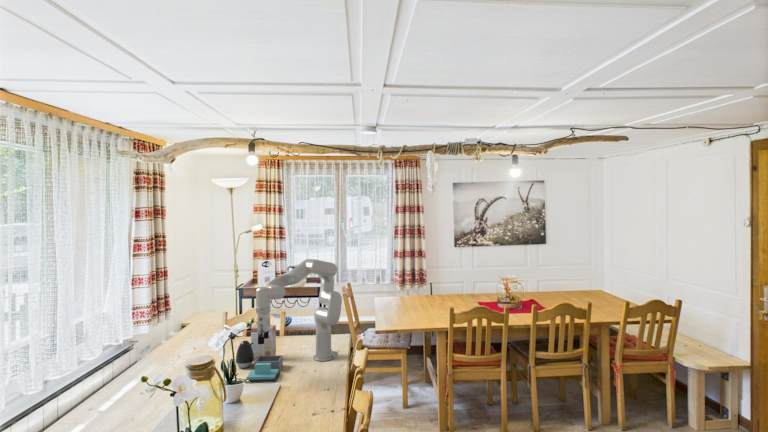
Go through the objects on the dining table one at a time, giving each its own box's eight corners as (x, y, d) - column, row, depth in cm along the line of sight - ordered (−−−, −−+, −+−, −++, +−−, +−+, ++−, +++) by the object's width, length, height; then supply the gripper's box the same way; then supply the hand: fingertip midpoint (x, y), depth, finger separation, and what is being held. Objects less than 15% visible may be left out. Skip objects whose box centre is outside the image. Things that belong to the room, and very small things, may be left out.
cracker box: (276, 358, 237) (276, 324, 238) (272, 361, 231) (272, 327, 232) (254, 357, 239) (254, 324, 239) (250, 360, 233) (250, 326, 233)
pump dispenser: (248, 370, 218) (248, 343, 218) (231, 369, 220) (232, 342, 220) (257, 364, 228) (257, 338, 228) (241, 362, 230) (242, 337, 230)
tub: (258, 366, 224) (258, 355, 224) (282, 365, 225) (282, 355, 225) (254, 372, 214) (254, 362, 214) (279, 372, 215) (279, 361, 215)
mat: (251, 374, 212) (251, 373, 212) (280, 373, 213) (280, 372, 213) (244, 383, 200) (244, 382, 200) (275, 382, 201) (275, 381, 201)
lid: (251, 373, 211) (252, 360, 212) (278, 372, 212) (278, 360, 213) (246, 381, 201) (246, 367, 201) (274, 380, 202) (274, 367, 202)
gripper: (266, 313, 199) (266, 346, 199) (273, 306, 216) (273, 336, 216) (251, 313, 199) (251, 346, 198) (260, 306, 216) (260, 336, 216)
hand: (263, 341), depth 207 cm, fingers open, 9 cm apart
